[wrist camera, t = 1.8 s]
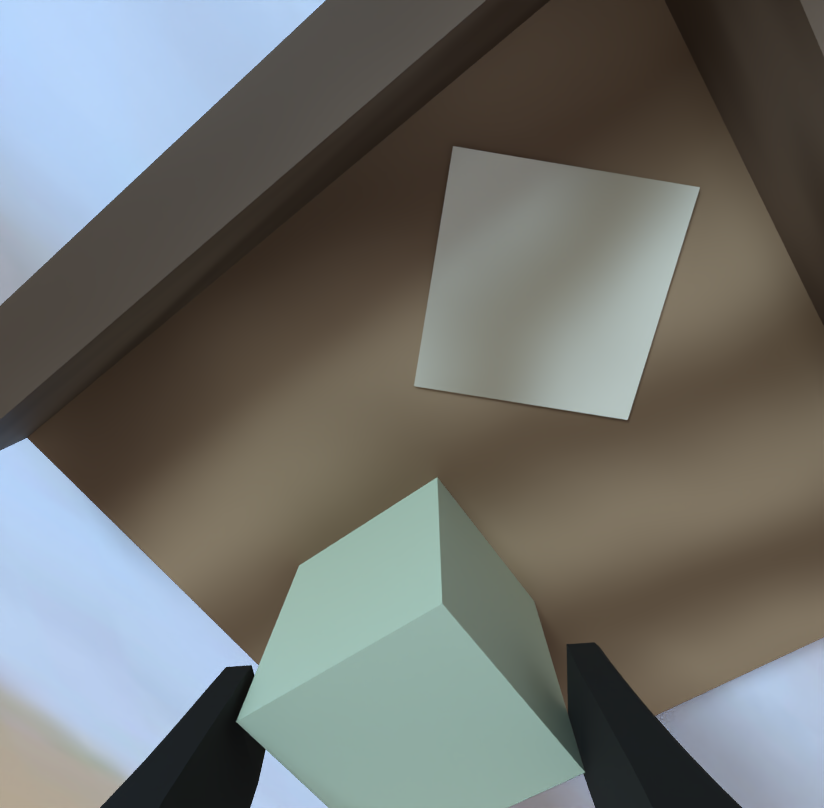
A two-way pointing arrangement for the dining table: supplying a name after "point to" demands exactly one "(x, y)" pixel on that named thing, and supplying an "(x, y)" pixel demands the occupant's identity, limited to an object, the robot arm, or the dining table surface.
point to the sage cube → (412, 671)
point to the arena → (472, 321)
